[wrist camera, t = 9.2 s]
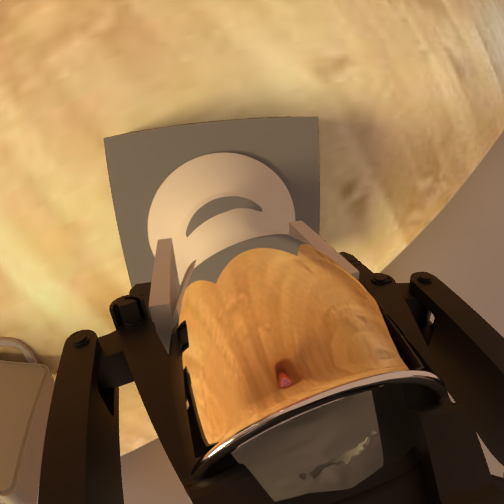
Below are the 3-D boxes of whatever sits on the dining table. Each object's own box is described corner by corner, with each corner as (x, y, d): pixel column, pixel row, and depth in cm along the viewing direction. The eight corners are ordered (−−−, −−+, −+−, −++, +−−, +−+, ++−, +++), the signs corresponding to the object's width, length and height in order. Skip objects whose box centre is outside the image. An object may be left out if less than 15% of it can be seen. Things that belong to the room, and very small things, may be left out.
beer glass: (157, 199, 17) (112, 436, 4) (275, 171, 18) (487, 310, 5) (188, 302, 20) (223, 537, 7) (291, 275, 21) (422, 467, 8)
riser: (124, 133, 25) (102, 138, 17) (282, 116, 27) (320, 116, 20) (149, 278, 30) (142, 329, 23) (287, 258, 33) (319, 300, 25)
